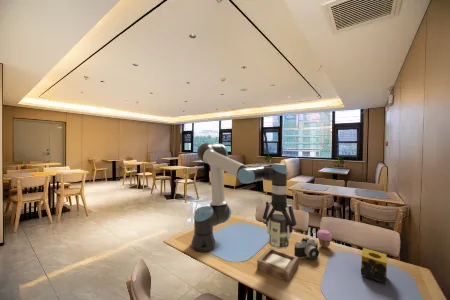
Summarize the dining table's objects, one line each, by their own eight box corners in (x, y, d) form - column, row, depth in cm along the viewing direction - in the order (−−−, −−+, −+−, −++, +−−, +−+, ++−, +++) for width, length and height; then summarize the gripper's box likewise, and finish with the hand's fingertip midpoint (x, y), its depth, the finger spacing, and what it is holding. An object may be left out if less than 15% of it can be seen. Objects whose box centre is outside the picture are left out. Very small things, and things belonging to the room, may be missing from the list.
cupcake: (327, 250, 119) (327, 234, 118) (314, 245, 126) (314, 229, 125) (334, 246, 124) (334, 231, 124) (321, 241, 131) (321, 226, 131)
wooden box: (257, 268, 100) (257, 260, 100) (270, 255, 113) (270, 247, 113) (288, 281, 91) (288, 272, 90) (298, 265, 103) (298, 257, 103)
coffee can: (287, 240, 105) (288, 214, 105) (289, 250, 95) (290, 221, 95) (268, 238, 108) (268, 213, 107) (268, 247, 98) (268, 219, 97)
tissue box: (361, 265, 104) (362, 247, 104) (386, 273, 98) (386, 253, 98) (360, 275, 96) (360, 255, 96) (386, 284, 90) (387, 263, 90)
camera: (301, 263, 105) (301, 245, 105) (291, 254, 114) (291, 237, 114) (324, 259, 110) (325, 241, 109) (313, 251, 118) (313, 234, 118)
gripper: (256, 191, 105) (256, 232, 105) (299, 198, 91) (298, 245, 92) (262, 189, 111) (262, 227, 111) (303, 195, 97) (303, 239, 98)
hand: (278, 235), depth 101 cm, fingers closed on coffee can, 10 cm apart
